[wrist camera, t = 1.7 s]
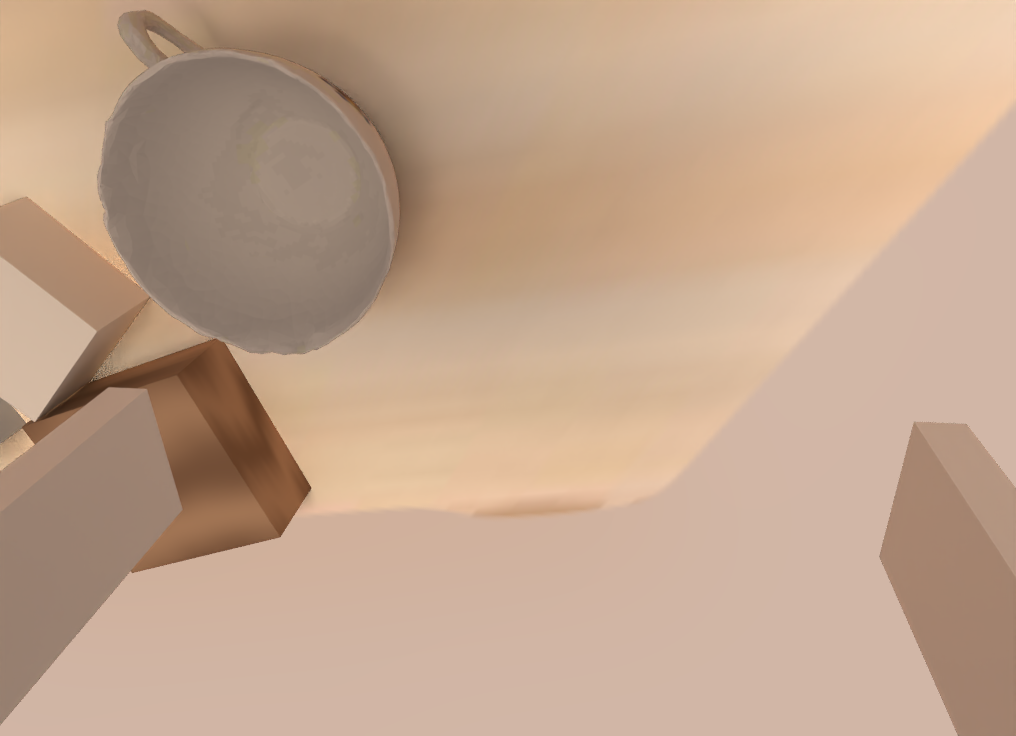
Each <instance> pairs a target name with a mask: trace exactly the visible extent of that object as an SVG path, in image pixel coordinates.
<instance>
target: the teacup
mask: <svg viewBox="0 0 1016 736" xmlns="http://www.w3.org/2000/svg"><path fill="white" fill-rule="evenodd" d="M118 29H119V32H120V35H121V37H122V39H123V40H124V42H125V43H126V44H127V46H128V47H129V48H130V49H131V51H132V52H133V53H134V54H135V56H136V57H137V58H138V59H139V60H140V61H141V62H142V63H144V64H145V65H146V66H147V67H148V68H149V69H147V70H146V71H144V72H143V73H142V74H140V75H139V76H138V77H137V78H136V79H134V80H133V81H132V82H131V83H130V84H129V85H128V86H127V88H126V89H125V90H124V92H123V93H122V95H121V97H120V99H119V101H118V103H117V105H116V107H115V109H114V112H113V114H112V116H111V117H110V118H109V120H108V121H106V127H105V137H104V142H103V148H102V162H101V166H100V168H99V171H98V175H97V178H98V193H99V196H100V200H101V202H102V205H103V207H104V209H105V211H106V212H105V213H104V224H105V227H106V229H107V231H108V234H109V236H110V238H111V240H112V242H113V244H114V246H115V248H116V250H117V252H118V254H119V255H120V257H121V258H122V260H123V261H124V263H125V264H126V266H127V268H128V270H129V271H130V273H131V275H132V276H133V278H134V279H135V280H136V282H137V283H138V284H139V285H140V286H141V288H142V289H143V290H144V291H145V292H146V293H147V294H148V295H149V296H150V297H151V298H152V299H153V300H154V301H155V302H156V303H157V304H158V305H159V306H160V307H162V308H163V309H164V310H165V311H166V312H167V313H168V314H169V315H170V316H172V317H173V318H175V319H177V320H179V321H181V322H182V323H184V324H186V325H187V326H189V327H190V328H192V329H193V330H194V331H195V332H196V333H198V334H200V335H203V336H206V337H211V338H216V339H218V340H219V341H221V342H225V343H228V344H232V345H234V346H237V347H239V348H241V349H243V350H245V351H247V352H249V353H258V354H264V353H270V352H274V353H278V354H282V355H287V354H305V353H307V352H309V351H311V350H317V349H319V348H321V347H323V346H325V345H327V344H329V343H330V342H331V341H333V340H334V339H336V338H337V337H339V336H340V335H342V334H344V333H345V332H347V331H348V330H349V329H350V328H352V327H353V326H354V325H355V324H357V323H358V322H359V321H360V319H361V318H362V317H363V316H364V315H365V313H366V312H367V311H368V309H369V308H370V307H371V305H372V304H373V303H374V301H375V300H376V298H377V295H378V293H379V291H380V289H381V287H382V285H383V282H384V280H385V278H386V276H387V274H388V272H389V269H390V266H391V262H392V258H393V255H394V251H395V248H396V243H397V238H398V231H399V219H400V205H399V192H398V184H397V180H396V176H395V172H394V168H393V164H392V162H391V159H390V157H389V154H388V152H387V149H386V147H385V145H384V143H383V141H382V139H381V137H380V136H379V134H378V132H377V130H376V129H375V127H374V126H373V125H372V123H371V122H370V121H369V119H368V118H367V116H366V115H365V114H364V112H363V111H362V110H361V109H360V108H359V107H358V106H357V105H356V104H355V103H354V102H353V101H352V100H351V99H350V98H349V97H348V96H347V95H346V94H345V93H344V92H343V91H342V90H340V89H339V88H337V87H336V86H335V85H333V84H332V83H330V82H329V81H327V80H326V79H325V78H323V77H322V76H320V75H319V74H317V73H315V72H313V71H311V70H309V69H307V68H305V67H303V66H301V65H298V64H296V63H293V62H291V61H289V60H286V59H284V58H280V57H277V56H273V55H269V54H265V53H261V52H255V51H250V50H241V49H233V48H211V49H203V48H202V47H201V46H199V45H198V44H196V43H195V42H194V41H192V40H191V39H189V38H188V37H186V36H184V35H183V34H182V33H180V32H179V31H178V30H176V29H175V28H174V27H172V26H171V25H170V24H168V23H167V22H165V21H164V20H163V19H161V18H160V17H159V16H157V15H155V14H154V13H152V12H150V11H146V10H143V11H133V12H127V13H124V14H123V15H122V16H121V17H120V18H119V21H118ZM146 29H147V30H150V31H152V32H154V33H156V34H158V35H160V36H162V37H163V38H165V39H167V40H168V41H170V42H171V43H173V44H174V45H175V46H177V47H178V48H179V49H181V50H182V51H183V52H184V53H183V54H179V55H176V56H172V57H169V58H168V57H167V56H165V55H164V54H163V53H162V52H161V51H160V50H159V49H158V48H157V47H156V45H155V44H154V43H153V41H152V40H151V39H150V37H149V35H148V33H147V31H146Z"/></svg>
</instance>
